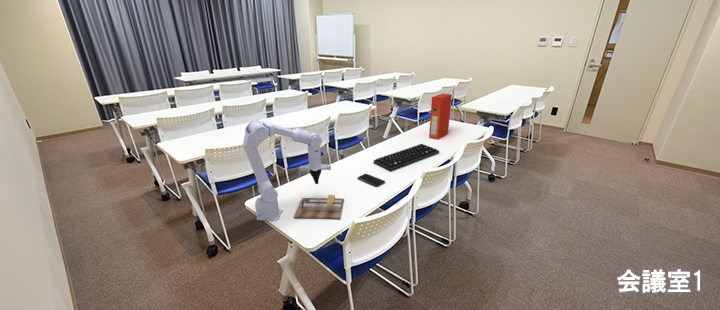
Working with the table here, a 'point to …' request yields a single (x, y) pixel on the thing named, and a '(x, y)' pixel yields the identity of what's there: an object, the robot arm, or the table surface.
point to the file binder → (440, 116)
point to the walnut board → (317, 214)
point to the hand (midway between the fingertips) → (316, 183)
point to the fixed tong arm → (320, 207)
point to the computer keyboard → (405, 157)
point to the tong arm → (324, 201)
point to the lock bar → (330, 200)
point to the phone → (371, 180)
